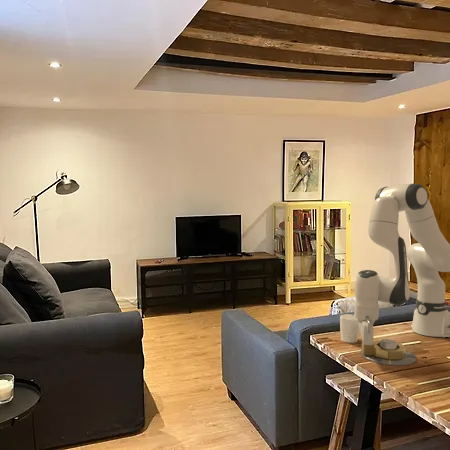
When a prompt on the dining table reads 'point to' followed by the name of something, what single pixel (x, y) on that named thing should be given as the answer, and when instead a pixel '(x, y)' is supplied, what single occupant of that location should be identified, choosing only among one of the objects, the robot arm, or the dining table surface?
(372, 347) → the ring nut
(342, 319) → the white cup
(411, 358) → the hub plate
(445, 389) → the dining table surface
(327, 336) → the dining table surface
